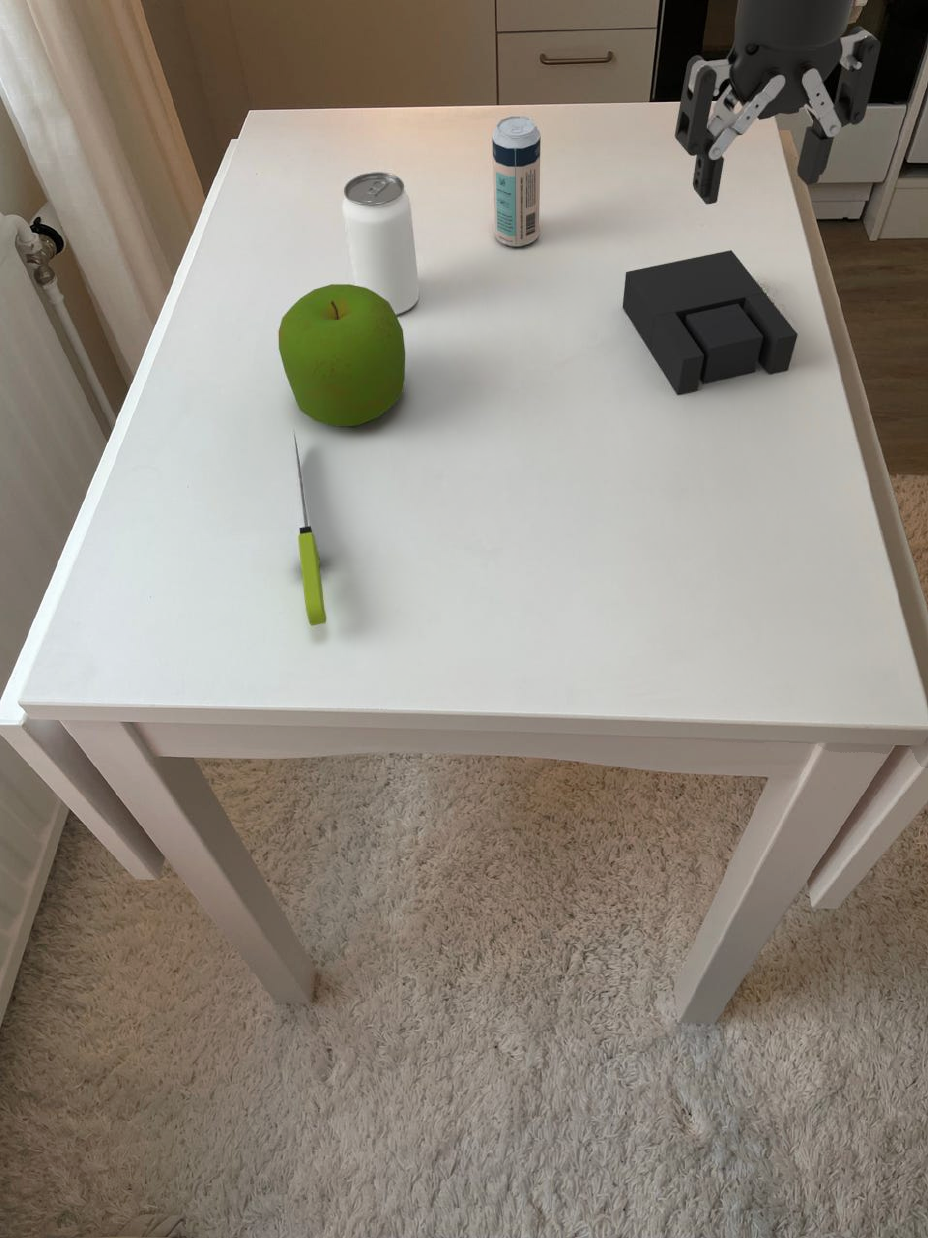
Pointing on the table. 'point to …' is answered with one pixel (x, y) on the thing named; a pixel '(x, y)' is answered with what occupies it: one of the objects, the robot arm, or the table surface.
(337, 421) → the apple
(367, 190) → the can
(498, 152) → the beer can
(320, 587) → the kitchen knife
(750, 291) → the black flat forked piece
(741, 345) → the black block
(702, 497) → the table surface
